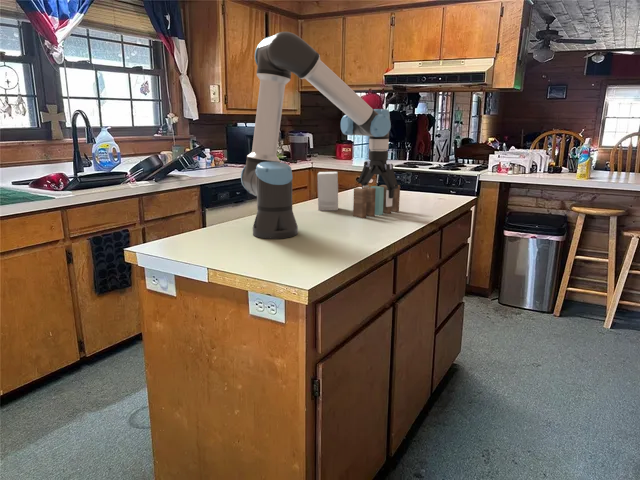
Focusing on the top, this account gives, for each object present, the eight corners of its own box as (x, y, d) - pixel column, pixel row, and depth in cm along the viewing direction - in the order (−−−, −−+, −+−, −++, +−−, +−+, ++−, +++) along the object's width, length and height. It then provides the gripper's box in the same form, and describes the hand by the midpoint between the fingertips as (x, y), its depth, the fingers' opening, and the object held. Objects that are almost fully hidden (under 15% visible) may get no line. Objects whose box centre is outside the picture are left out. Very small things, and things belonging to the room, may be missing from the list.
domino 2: (370, 216, 187) (371, 188, 184) (362, 214, 191) (362, 187, 188) (374, 216, 189) (375, 188, 186) (366, 214, 192) (366, 186, 190)
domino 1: (361, 218, 185) (362, 190, 182) (353, 216, 188) (353, 188, 186) (365, 217, 186) (366, 189, 183) (357, 215, 190) (358, 187, 187)
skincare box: (338, 208, 204) (338, 171, 200) (337, 211, 198) (337, 173, 194) (318, 207, 205) (318, 171, 201) (317, 210, 199) (317, 173, 195)
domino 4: (395, 212, 195) (396, 185, 193) (386, 210, 199) (387, 184, 196) (398, 211, 197) (400, 185, 194) (390, 209, 201) (391, 183, 198)
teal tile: (378, 215, 190) (379, 187, 187) (370, 213, 194) (371, 186, 191) (382, 214, 191) (383, 187, 188) (374, 212, 195) (375, 185, 192)
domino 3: (387, 213, 193) (388, 186, 190) (378, 211, 196) (379, 185, 194) (391, 213, 194) (392, 186, 191) (382, 211, 198) (383, 184, 195)
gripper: (409, 151, 179) (406, 207, 184) (364, 147, 198) (362, 198, 203) (395, 152, 174) (392, 209, 180) (350, 148, 193) (349, 200, 199)
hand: (376, 203), depth 191 cm, fingers open, 13 cm apart
